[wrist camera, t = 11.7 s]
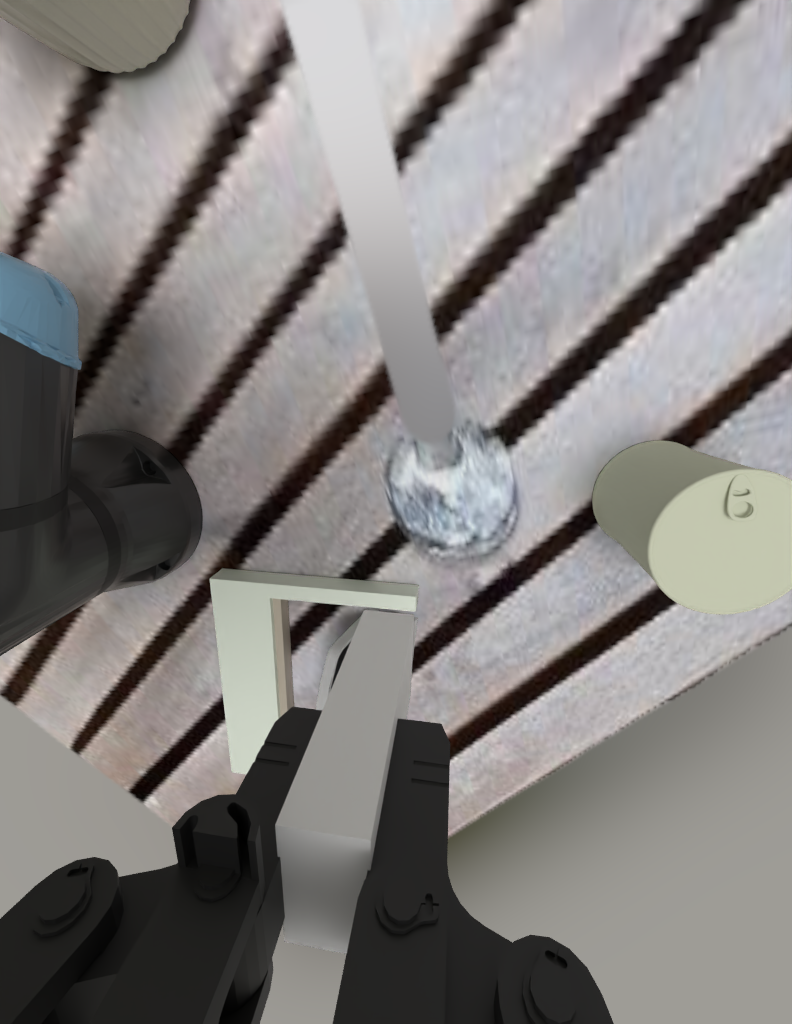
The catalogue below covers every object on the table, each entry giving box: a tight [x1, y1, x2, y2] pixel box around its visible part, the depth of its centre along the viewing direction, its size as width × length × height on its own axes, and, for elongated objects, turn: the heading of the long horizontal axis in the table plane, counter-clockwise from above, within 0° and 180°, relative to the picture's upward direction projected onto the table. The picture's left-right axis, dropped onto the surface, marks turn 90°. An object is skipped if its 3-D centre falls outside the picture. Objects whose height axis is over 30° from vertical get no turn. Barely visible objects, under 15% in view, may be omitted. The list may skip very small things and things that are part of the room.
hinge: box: [316, 608, 418, 710], centre depth 42 cm, size 17×5×10 cm, turn 175°
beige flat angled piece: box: [210, 568, 419, 774], centre depth 45 cm, size 20×24×2 cm
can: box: [592, 441, 792, 615], centre depth 30 cm, size 9×9×12 cm
